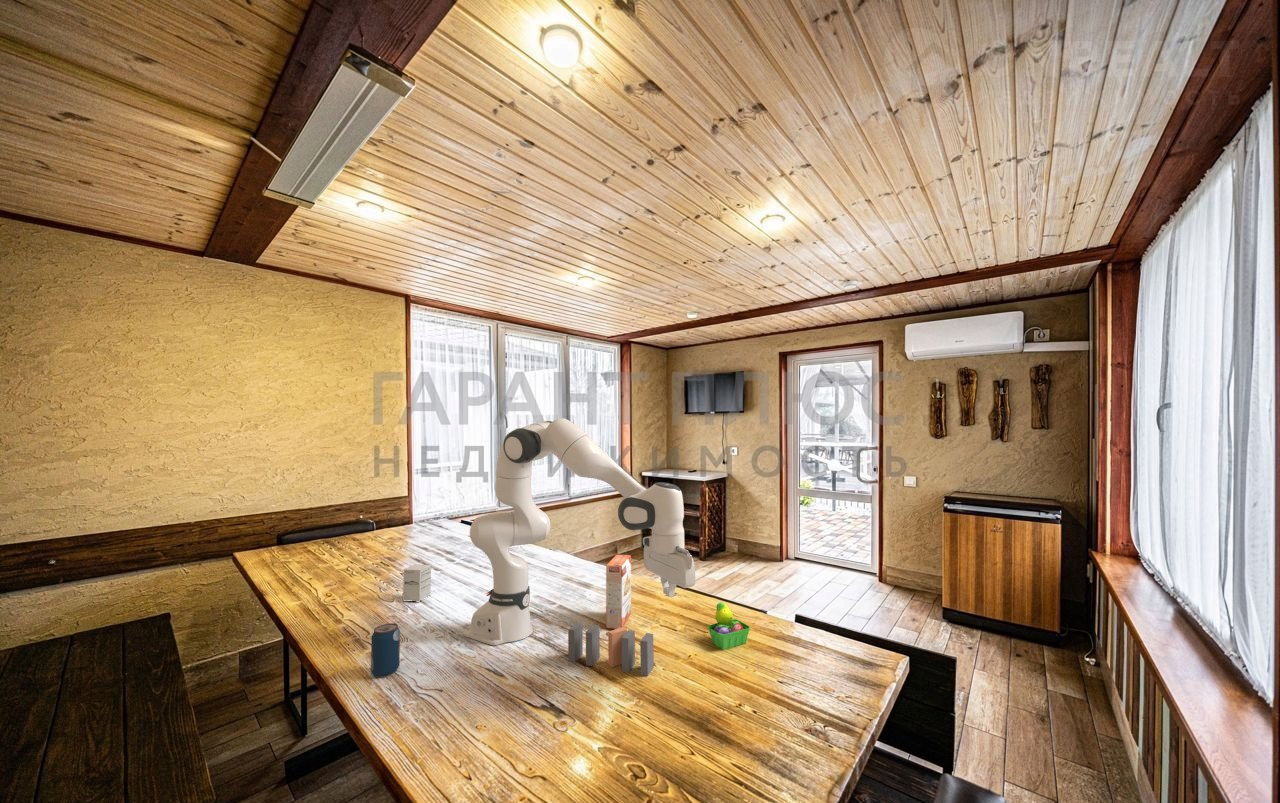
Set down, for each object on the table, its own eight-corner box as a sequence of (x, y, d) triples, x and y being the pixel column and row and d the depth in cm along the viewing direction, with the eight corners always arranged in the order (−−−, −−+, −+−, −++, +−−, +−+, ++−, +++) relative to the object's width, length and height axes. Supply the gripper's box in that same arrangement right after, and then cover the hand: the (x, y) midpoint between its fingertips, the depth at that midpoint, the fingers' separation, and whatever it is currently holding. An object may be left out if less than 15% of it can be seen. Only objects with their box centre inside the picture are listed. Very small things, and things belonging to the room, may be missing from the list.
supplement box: (402, 602, 180) (402, 569, 181) (414, 595, 187) (415, 563, 188) (419, 603, 179) (420, 569, 180) (431, 596, 186) (431, 564, 187)
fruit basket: (722, 653, 137) (721, 613, 137) (704, 641, 144) (703, 603, 145) (752, 644, 142) (751, 606, 142) (733, 633, 150) (732, 597, 150)
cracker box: (623, 630, 152) (622, 565, 154) (605, 629, 154) (604, 564, 155) (632, 613, 166) (631, 554, 167) (615, 612, 167) (615, 553, 169)
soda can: (405, 668, 130) (405, 624, 130) (384, 680, 123) (385, 634, 124) (386, 664, 132) (387, 621, 133) (364, 676, 126) (365, 631, 126)
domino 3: (608, 664, 131) (608, 631, 131) (623, 659, 134) (622, 626, 134) (612, 667, 129) (612, 634, 129) (627, 661, 132) (626, 629, 132)
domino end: (640, 675, 125) (640, 640, 125) (646, 666, 129) (646, 632, 130) (647, 676, 124) (647, 641, 125) (653, 667, 129) (653, 633, 129)
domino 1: (568, 661, 132) (568, 629, 133) (576, 653, 137) (576, 622, 138) (574, 662, 132) (574, 630, 132) (582, 654, 136) (582, 623, 137)
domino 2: (585, 664, 130) (585, 632, 131) (593, 656, 135) (593, 624, 136) (592, 666, 130) (592, 632, 130) (599, 657, 134) (599, 625, 135)
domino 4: (621, 671, 127) (621, 637, 127) (628, 662, 131) (628, 630, 132) (628, 672, 126) (628, 638, 127) (635, 663, 131) (634, 631, 131)
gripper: (701, 549, 119) (702, 604, 118) (658, 534, 137) (658, 582, 136) (680, 553, 116) (681, 610, 115) (639, 537, 134) (640, 586, 133)
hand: (669, 595), depth 126 cm, fingers closed
